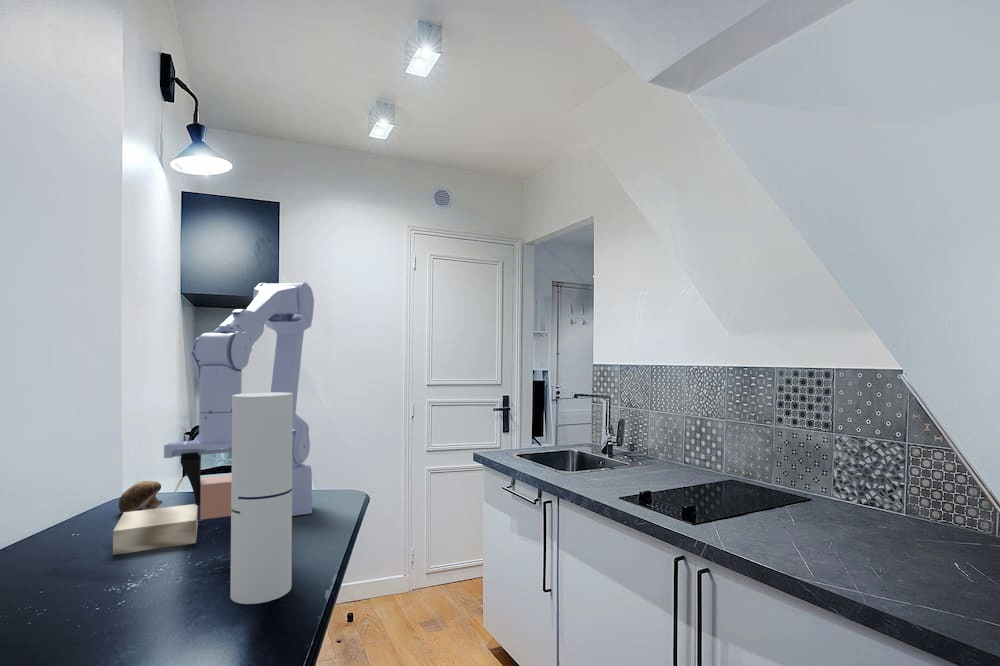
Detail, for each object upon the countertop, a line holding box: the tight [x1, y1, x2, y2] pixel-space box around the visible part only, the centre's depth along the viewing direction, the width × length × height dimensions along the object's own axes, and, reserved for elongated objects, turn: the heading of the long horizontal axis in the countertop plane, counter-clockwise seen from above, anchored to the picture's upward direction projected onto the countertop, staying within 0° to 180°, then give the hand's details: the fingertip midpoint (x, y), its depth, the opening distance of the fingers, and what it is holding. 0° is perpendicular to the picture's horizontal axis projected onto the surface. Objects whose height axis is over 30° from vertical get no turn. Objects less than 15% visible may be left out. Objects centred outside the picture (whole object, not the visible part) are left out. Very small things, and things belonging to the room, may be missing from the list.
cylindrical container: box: [229, 391, 293, 605], centre depth 70 cm, size 7×7×25 cm
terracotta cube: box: [199, 474, 232, 520], centre depth 83 cm, size 5×5×5 cm
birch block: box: [112, 503, 199, 556], centre depth 91 cm, size 11×11×4 cm
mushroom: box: [118, 480, 163, 514], centre depth 106 cm, size 8×8×6 cm
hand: (219, 501), depth 83 cm, fingers closed on terracotta cube, 5 cm apart
